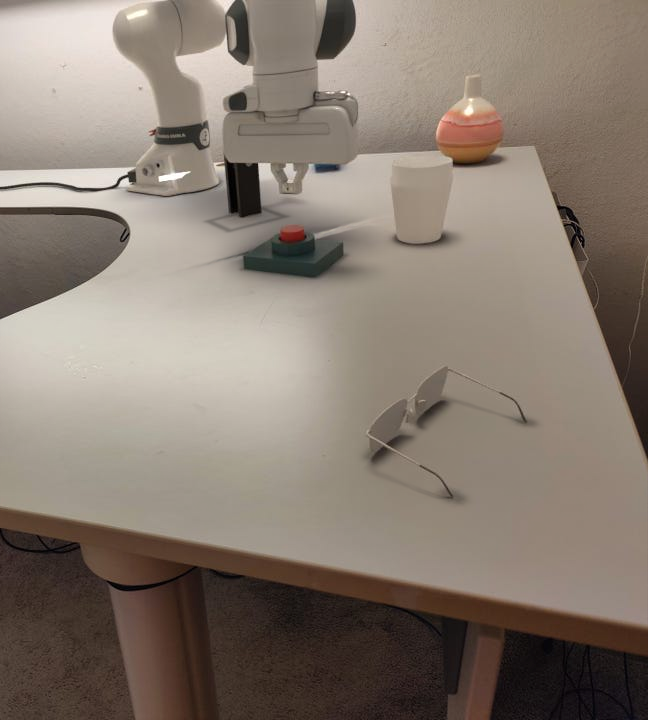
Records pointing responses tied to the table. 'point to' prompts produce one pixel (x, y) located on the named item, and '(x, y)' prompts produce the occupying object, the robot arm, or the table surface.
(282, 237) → the button
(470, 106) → the vase
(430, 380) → the eyeglasses
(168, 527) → the table surface
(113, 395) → the table surface
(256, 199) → the bracket
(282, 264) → the button box
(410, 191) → the cup
